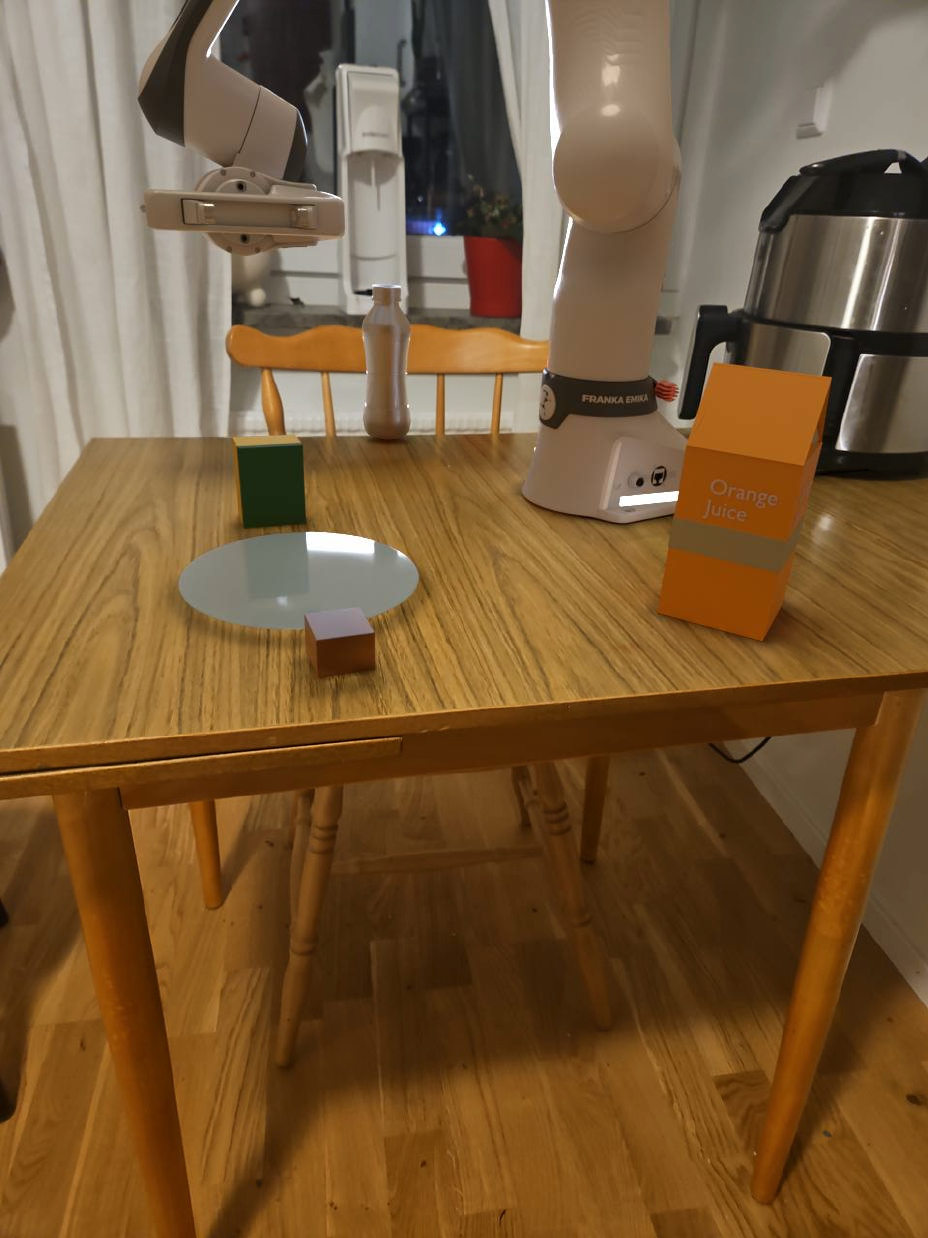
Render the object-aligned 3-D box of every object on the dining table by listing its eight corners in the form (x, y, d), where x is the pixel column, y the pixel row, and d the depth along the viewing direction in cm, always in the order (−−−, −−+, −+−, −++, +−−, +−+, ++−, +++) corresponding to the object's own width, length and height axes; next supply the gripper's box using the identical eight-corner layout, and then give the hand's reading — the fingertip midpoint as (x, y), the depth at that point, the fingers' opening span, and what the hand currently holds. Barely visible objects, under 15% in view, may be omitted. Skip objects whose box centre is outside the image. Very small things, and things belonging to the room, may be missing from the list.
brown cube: (360, 655, 59) (359, 607, 58) (375, 683, 56) (375, 632, 54) (306, 663, 58) (303, 613, 56) (318, 692, 55) (316, 640, 53)
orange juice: (683, 582, 74) (725, 355, 65) (782, 607, 70) (842, 370, 61) (655, 613, 68) (697, 368, 59) (762, 642, 64) (825, 385, 55)
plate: (382, 535, 81) (382, 524, 81) (451, 624, 65) (452, 610, 64) (171, 555, 74) (170, 542, 74) (189, 659, 58) (188, 645, 57)
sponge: (299, 520, 84) (294, 434, 80) (306, 534, 80) (302, 444, 76) (239, 525, 82) (232, 437, 78) (244, 539, 78) (237, 448, 74)
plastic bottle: (403, 446, 111) (405, 289, 102) (356, 441, 112) (354, 285, 103) (415, 434, 117) (418, 285, 108) (370, 430, 118) (369, 282, 109)
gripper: (135, 173, 85) (139, 171, 74) (327, 184, 92) (357, 184, 81) (143, 239, 88) (148, 247, 77) (328, 245, 95) (358, 253, 84)
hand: (257, 215), depth 79 cm, fingers open, 8 cm apart
